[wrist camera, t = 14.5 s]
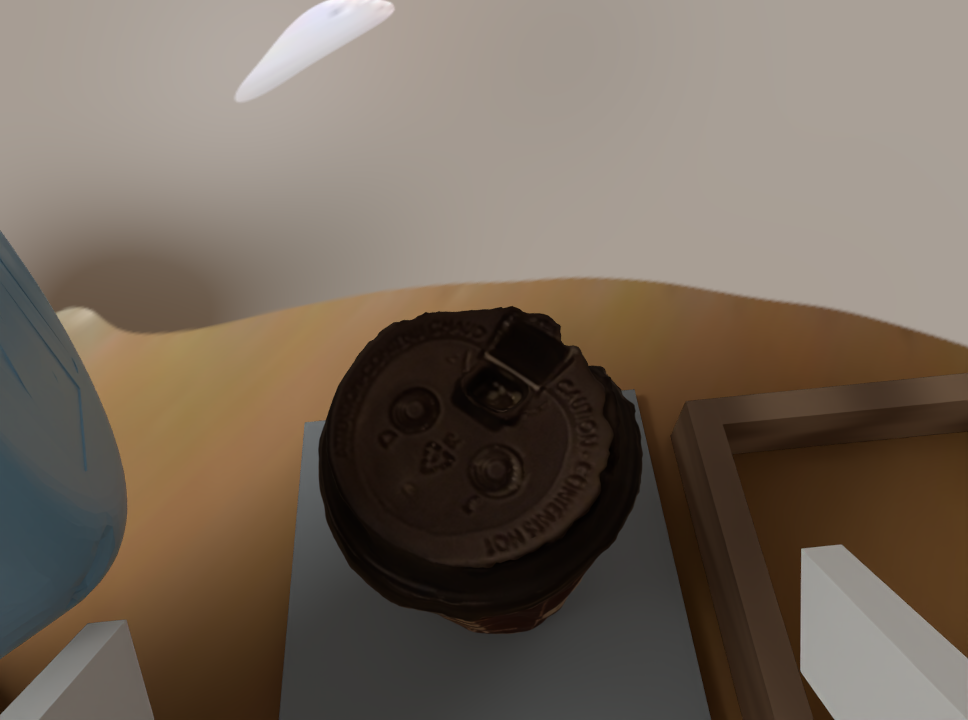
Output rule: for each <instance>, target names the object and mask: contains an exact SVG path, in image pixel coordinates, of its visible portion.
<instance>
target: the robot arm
mask: <svg viewBox="0 0 968 720" xmlns="http://www.w3.org/2000/svg"><path fill="white" fill-rule="evenodd" d="M126 519H127V492H126V483H125V476H124V470H123V466H122V462H121V458H120V454H119V450H118V447H117V444H116V440H115V437H114V434H113V431H112V429H111V426H110V423H109V421H108V418H107V415H106V413H105V411H104V408H103V406H102V403H101V401H100V398H99V396H98V394H97V392H96V390H95V387H94V385H93V383H92V381H91V379H90V376H89V374H88V372H87V370H86V368H85V366H84V364H83V362H82V360H81V358H80V357H79V355H78V353H77V351H76V349H75V347H74V345H73V344H72V342H71V340H70V338H69V336H68V334H67V332H66V331H65V329H64V327H63V325H62V324H61V322H60V320H59V319H58V317H57V315H56V314H55V312H54V310H53V309H52V307H51V305H50V304H49V302H48V301H47V299H46V297H45V295H44V294H43V292H42V291H41V289H40V287H39V286H38V284H37V283H36V281H35V280H34V278H33V277H32V275H31V274H30V272H29V271H28V269H27V268H26V267H25V265H24V264H23V262H22V261H21V259H20V258H19V256H18V255H17V253H16V252H15V250H14V249H13V247H12V246H11V244H10V243H9V242H8V240H7V239H6V238H5V236H4V235H3V234H2V232H1V231H0V659H1V658H2V657H4V656H5V655H7V654H8V653H9V652H11V651H12V650H14V649H15V648H17V647H18V646H19V645H21V644H22V643H24V642H25V641H26V640H28V639H29V638H31V637H32V636H33V635H35V634H36V633H38V632H39V631H41V630H42V629H43V628H45V627H46V626H48V625H49V624H50V623H52V622H53V621H55V620H56V619H57V618H59V617H60V616H62V615H63V614H64V613H66V612H67V611H69V610H70V609H72V608H73V607H74V606H76V605H77V604H78V603H79V602H81V601H82V600H83V599H84V598H85V597H86V596H87V595H88V594H89V593H90V592H91V591H92V590H93V589H94V588H95V587H96V586H97V585H98V584H99V583H100V582H101V580H102V579H103V577H104V576H105V575H106V573H107V572H108V570H109V569H110V567H111V565H112V564H113V562H114V560H115V558H116V556H117V554H118V551H119V548H120V545H121V542H122V539H123V535H124V531H125V526H126ZM800 672H801V673H802V674H803V676H804V677H805V679H806V680H807V681H808V683H809V684H810V686H811V687H812V688H813V690H814V691H815V693H816V694H817V696H818V697H819V698H820V700H821V701H822V703H823V704H824V705H825V707H826V708H827V710H828V711H829V713H830V714H831V715H832V717H833V718H834V720H968V658H966V657H965V656H964V655H963V654H962V653H961V652H960V651H959V650H958V649H956V648H955V647H954V646H953V645H952V644H951V643H950V642H949V641H948V640H947V639H945V638H944V637H943V636H942V635H941V634H940V633H939V632H938V631H937V630H935V629H934V628H933V627H932V626H931V625H930V624H929V623H928V622H927V621H926V620H924V619H923V618H922V617H921V616H920V615H919V614H918V613H917V612H916V611H914V610H913V609H912V608H911V607H910V606H909V605H908V604H907V603H906V602H905V601H903V600H902V599H901V598H900V597H899V596H898V595H897V594H896V593H895V592H894V591H892V590H891V589H890V588H889V587H888V586H887V585H886V584H885V583H884V582H882V581H881V580H880V579H879V578H878V577H877V576H876V575H875V574H874V573H873V572H871V571H870V570H869V569H868V568H867V567H866V566H865V565H864V564H863V563H861V562H860V561H859V560H858V559H857V558H856V557H855V556H854V555H853V554H852V553H850V552H849V551H848V550H847V549H846V548H845V547H844V546H843V545H842V544H841V545H831V546H822V547H812V548H803V549H801V655H800ZM0 720H154V716H153V713H152V709H151V705H150V702H149V698H148V695H147V691H146V688H145V684H144V681H143V677H142V673H141V670H140V666H139V663H138V659H137V656H136V652H135V649H134V645H133V641H132V638H131V634H130V631H129V627H128V624H127V620H116V621H107V622H97V623H88V624H87V625H86V626H85V627H84V628H83V629H82V630H81V631H80V632H79V633H78V634H77V635H76V636H75V637H74V638H73V639H72V640H71V641H70V642H69V644H68V645H67V646H66V647H65V648H64V649H63V650H62V651H61V652H60V653H59V654H58V655H57V656H56V657H55V658H54V659H53V660H52V661H51V662H50V663H49V664H48V665H47V666H46V668H45V669H44V670H43V671H42V672H41V673H40V674H39V675H38V676H37V677H36V678H35V679H34V680H33V681H32V682H31V683H30V684H29V685H28V686H27V687H26V688H25V689H24V690H23V691H22V693H21V694H20V695H19V696H18V697H17V698H16V699H15V700H14V701H13V702H12V703H11V704H10V705H9V706H8V707H7V708H6V709H5V710H4V711H3V712H2V713H1V714H0Z"/></svg>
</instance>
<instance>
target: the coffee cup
mask: <svg viewBox="0 0 968 720" xmlns="http://www.w3.org/2000/svg"><path fill="white" fill-rule="evenodd" d="M560 329H561V326H560V325H559V324H557V323H556V322H555V321H554V320H553V319H552V318H551V317H549V316H548V315H545V314H540V313H530V314H528V313H525V312H523V311H521V310H520V309H518V308H516V307H513V306H510V307H507V308H502V307H499V308H495V309H490V310H488V309H483V310H469V311H460V312H440V311H439V312H436V313H435V312H432V313H427V312H425V313H424V314H422V315H420V316H417V317H416V318H415V319H413V320H403V321H400V322H394V323H392V324H391V325H389V326H388V327H386V328H385V329H383V330H382V331H381V332H379V334H378V336H377V337H376V338H375V339H374V340H372V341H369V343H368V344H367V345H366V346H365V348H364V349H363V350H362V351H361V352H360V353H359V355H358V356H357V358H356V359H355V361H354V363H353V364H352V366H351V367H350V369H349V370H348V371H347V373H346V374H345V376H344V378H343V379H342V381H341V382H340V384H339V386H338V388H337V390H336V393H335V395H334V398H333V401H332V404H331V406H330V409H329V412H328V415H327V418H326V421H325V424H324V427H323V430H322V433H321V436H320V439H319V447H318V454H319V466H318V469H319V474H318V476H319V488H320V493H321V497H322V500H323V503H324V509H325V518H326V521H327V524H328V526H329V528H330V530H331V532H332V535H333V538H334V539H335V541H336V543H337V545H338V547H339V548H340V550H341V552H342V553H343V555H344V557H345V559H346V561H347V563H348V565H349V567H350V568H351V569H352V570H354V571H355V572H356V573H357V574H358V575H359V576H360V577H361V578H362V579H363V580H364V581H365V582H366V583H367V584H368V585H369V586H370V587H372V588H373V589H374V590H375V591H376V592H378V593H379V594H380V595H381V596H382V597H384V598H385V599H387V600H388V601H390V602H392V603H394V604H396V605H398V606H400V607H404V608H408V609H415V610H418V611H426V612H430V613H434V614H438V615H440V616H442V617H443V618H445V619H447V620H449V621H452V622H454V623H456V624H458V625H460V626H462V627H464V628H465V629H467V630H469V631H472V632H476V633H485V634H514V633H519V632H525V631H529V630H532V629H534V628H536V627H537V626H539V625H540V624H541V623H543V622H544V621H545V620H546V619H547V618H548V617H549V616H551V615H553V614H555V613H556V612H557V611H559V610H560V609H561V608H562V606H563V604H564V603H565V601H566V599H567V597H568V596H569V595H570V593H571V592H572V591H573V590H575V588H576V587H577V586H578V584H579V583H580V582H581V580H582V578H583V576H584V574H585V573H586V571H587V570H588V569H589V568H590V567H591V565H592V564H593V563H594V562H595V560H596V559H597V558H598V557H599V556H600V555H601V554H602V552H604V551H605V550H607V549H608V548H609V547H610V546H611V545H612V544H613V543H614V542H615V541H616V539H617V536H618V533H619V532H620V531H621V529H622V528H623V526H624V524H625V522H626V520H627V518H628V516H629V514H630V513H631V511H632V509H633V507H634V504H635V501H636V498H637V495H638V494H639V493H640V484H641V475H642V457H643V451H642V446H641V438H642V437H641V432H640V428H639V425H638V423H637V422H636V418H635V412H636V410H635V405H634V404H633V403H632V402H630V401H629V400H627V399H626V398H625V397H624V396H623V395H622V391H621V389H620V388H619V387H618V386H617V385H616V384H615V383H614V382H613V381H612V380H611V377H609V376H608V375H607V374H606V371H605V369H604V368H603V367H601V366H588V363H587V361H586V360H585V358H584V357H583V355H582V352H581V350H580V348H579V347H577V346H566V345H564V344H563V343H562V341H561V333H560Z"/></svg>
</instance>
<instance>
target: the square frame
mask: <svg viewBox="0 0 968 720" xmlns="http://www.w3.org/2000/svg"><path fill="white" fill-rule="evenodd" d="M965 431H968V373H963V374H953V375H943V376H933V377H923V378H913V379H903V380H893V381H883V382H873V383H863V384H853V385H843V386H833V387H823V388H813V389H803V390H793V391H783V392H773V393H763V394H753V395H743V396H733V397H723V398H713V399H703V400H693V401H686V402H685V405H684V407H683V409H682V411H681V413H680V416H679V418H678V420H677V422H676V425H675V427H674V429H673V431H672V433H671V440H672V444H673V448H674V451H675V455H676V459H677V463H678V467H679V471H680V475H681V479H682V483H683V487H684V491H685V494H686V498H687V502H688V506H689V510H690V514H691V518H692V522H693V526H694V530H695V534H696V537H697V541H698V545H699V549H700V553H701V557H702V561H703V565H704V569H705V573H706V577H707V580H708V584H709V588H710V592H711V596H712V600H713V604H714V608H715V612H716V616H717V620H718V623H719V627H720V631H721V635H722V639H723V643H724V647H725V651H726V655H727V659H728V663H729V666H730V670H731V674H732V678H733V682H734V686H735V690H736V694H737V698H738V702H739V706H740V710H741V713H742V717H743V720H814V719H813V716H812V713H811V709H810V706H809V703H808V700H807V696H806V693H805V690H804V687H803V683H802V680H801V677H800V674H799V670H798V667H797V664H796V661H795V657H794V654H793V651H792V648H791V644H790V641H789V638H788V635H787V631H786V628H785V625H784V622H783V618H782V615H781V612H780V609H779V605H778V602H777V599H776V596H775V592H774V589H773V586H772V583H771V579H770V576H769V573H768V570H767V566H766V563H765V560H764V557H763V553H762V550H761V547H760V544H759V540H758V537H757V534H756V531H755V527H754V524H753V521H752V518H751V514H750V511H749V508H748V505H747V501H746V498H745V495H744V492H743V488H742V485H741V482H740V479H739V475H738V472H737V469H736V466H735V462H734V459H733V456H732V454H740V453H750V452H760V451H770V450H781V449H791V448H801V447H811V446H822V445H832V444H842V443H852V442H862V441H873V440H883V439H893V438H903V437H914V436H924V435H934V434H944V433H954V432H965Z"/></svg>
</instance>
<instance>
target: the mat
mask: <svg viewBox="0 0 968 720" xmlns="http://www.w3.org/2000/svg"><path fill="white" fill-rule="evenodd" d="M622 395H623V396H624V397H625V398H626V399H627V400H629V401H630V402H632V403H633V404H634V405H635V410H636V412H635V418H636V422H637V423H638V425H639V428H640V432H641V437H642V438H641V446H642V451H643V457H642V475H641V484H640V493H639V494H638V495H637V498H636V501H635V504H634V507H633V509H632V511H631V513H630V514H629V516H628V518H627V520H626V522H625V524H624V526H623V528H622V529H621V531H620V532H619V533H618V536H617V539H616V541H615V542H614V543H613V544H612V545H611V546H610V547H609V548H608V549H607V550H605V551H604V552H602V554H601V555H600V556H599V557H598V558H597V559H596V560H595V562H594V563H593V564H592V565H591V567H590V568H589V569H588V570H587V571H586V573H585V574H584V576H583V578H582V580H581V582H580V583H579V584H578V586H577V587H576V588H575V590H573V591H572V592H571V593H570V595H569V596H568V597H567V599H566V601H565V603H564V604H563V606H562V608H561V609H560V610H559V611H557V612H556V613H555V614H553V615H551V616H549V617H548V618H547V619H546V620H545V621H544V622H543V623H541V624H540V625H539V626H537V627H536V628H534V629H532V630H529V631H525V632H519V633H514V634H485V633H476V632H472V631H469V630H467V629H465V628H464V627H462V626H460V625H458V624H456V623H454V622H452V621H449V620H447V619H445V618H443V617H442V616H440V615H438V614H434V613H430V612H426V611H418V610H415V609H408V608H404V607H400V606H398V605H396V604H394V603H392V602H390V601H388V600H387V599H385V598H384V597H382V596H381V595H380V594H379V593H378V592H376V591H375V590H374V589H373V588H372V587H370V586H369V585H368V584H367V583H366V582H365V581H364V580H363V579H362V578H361V577H360V576H359V575H358V574H357V573H356V572H355V571H354V570H352V569H351V568H350V567H349V565H348V563H347V561H346V559H345V557H344V555H343V553H342V552H341V550H340V548H339V547H338V545H337V543H336V541H335V539H334V538H333V535H332V532H331V530H330V528H329V526H328V524H327V521H326V518H325V509H324V503H323V500H322V497H321V493H320V488H319V476H318V474H319V469H318V466H319V454H318V447H319V439H320V436H321V433H322V430H323V427H324V424H325V421H326V420H325V421H315V422H305V426H304V438H303V449H302V461H301V472H300V484H299V495H298V507H297V518H296V530H295V541H294V553H293V564H292V576H291V587H290V598H289V610H288V621H287V633H286V644H285V656H284V667H283V679H282V690H281V702H280V713H279V720H711V717H710V713H709V709H708V704H707V700H706V696H705V691H704V687H703V683H702V678H701V674H700V670H699V665H698V661H697V657H696V653H695V648H694V644H693V640H692V635H691V631H690V627H689V622H688V618H687V614H686V609H685V605H684V601H683V597H682V592H681V588H680V584H679V579H678V575H677V571H676V566H675V562H674V558H673V553H672V549H671V545H670V541H669V536H668V532H667V528H666V523H665V519H664V515H663V510H662V506H661V502H660V497H659V493H658V489H657V484H656V480H655V476H654V472H653V467H652V463H651V459H650V454H649V450H648V446H647V441H646V437H645V433H644V428H643V424H642V420H641V416H640V411H639V407H638V403H637V398H636V394H635V390H634V389H633V390H623V391H622Z"/></svg>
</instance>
